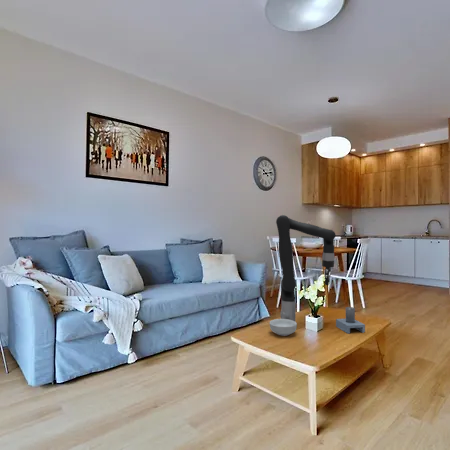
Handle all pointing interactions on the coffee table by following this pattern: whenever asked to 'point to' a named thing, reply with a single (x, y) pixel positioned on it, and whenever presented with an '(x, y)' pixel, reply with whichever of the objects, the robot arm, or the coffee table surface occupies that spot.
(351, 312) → the dark grey cylinder
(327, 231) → the robot arm
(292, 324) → the cereal bowl
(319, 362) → the coffee table surface
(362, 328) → the bench shelf
